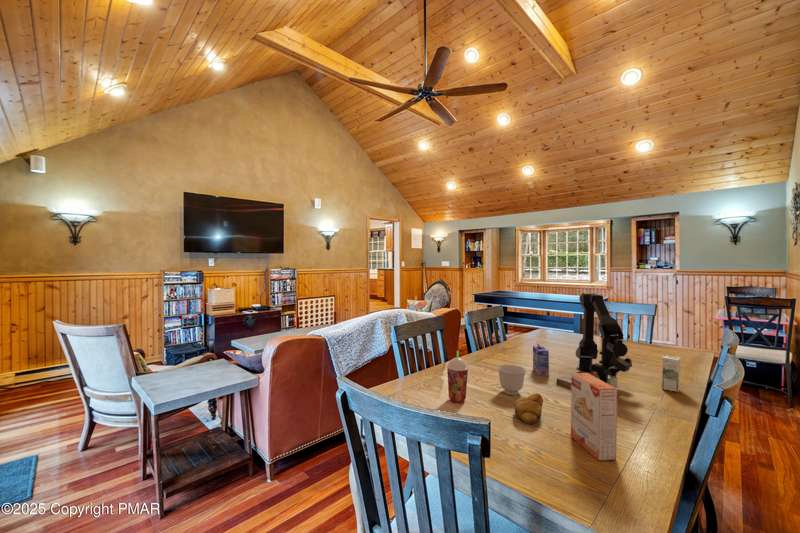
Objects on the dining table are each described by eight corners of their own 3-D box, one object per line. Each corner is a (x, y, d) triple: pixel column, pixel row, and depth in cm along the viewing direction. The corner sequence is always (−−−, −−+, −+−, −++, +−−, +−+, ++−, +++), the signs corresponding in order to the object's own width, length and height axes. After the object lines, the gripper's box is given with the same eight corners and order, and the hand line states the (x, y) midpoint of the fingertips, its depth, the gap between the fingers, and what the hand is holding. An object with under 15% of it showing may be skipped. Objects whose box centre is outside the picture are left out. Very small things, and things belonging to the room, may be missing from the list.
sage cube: (605, 384, 161) (605, 373, 161) (617, 388, 157) (617, 377, 156) (599, 386, 158) (599, 375, 158) (610, 390, 154) (611, 379, 154)
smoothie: (469, 398, 145) (469, 349, 145) (466, 406, 137) (466, 354, 137) (448, 395, 148) (449, 347, 147) (444, 403, 140) (445, 352, 139)
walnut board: (569, 380, 168) (569, 374, 168) (590, 387, 159) (590, 380, 159) (556, 384, 162) (556, 378, 162) (577, 391, 154) (577, 385, 154)
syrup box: (679, 389, 156) (680, 356, 156) (678, 393, 152) (679, 359, 152) (663, 386, 160) (664, 354, 160) (661, 389, 156) (662, 356, 155)
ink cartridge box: (531, 369, 183) (532, 341, 183) (543, 369, 183) (543, 341, 182) (537, 375, 173) (538, 346, 173) (549, 376, 173) (549, 346, 173)
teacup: (528, 387, 157) (528, 365, 157) (524, 399, 144) (525, 375, 143) (500, 383, 162) (500, 361, 162) (494, 394, 149) (494, 371, 149)
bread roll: (539, 428, 120) (540, 405, 119) (510, 422, 124) (510, 399, 124) (543, 414, 131) (543, 392, 131) (516, 408, 136) (516, 387, 135)
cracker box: (569, 436, 114) (570, 372, 114) (587, 436, 115) (588, 372, 114) (596, 461, 100) (598, 388, 100) (617, 461, 101) (618, 388, 100)
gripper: (616, 357, 145) (615, 395, 146) (639, 351, 155) (638, 387, 155) (589, 351, 155) (589, 386, 155) (613, 346, 164) (612, 379, 165)
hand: (608, 385), depth 157 cm, fingers closed on sage cube, 5 cm apart
